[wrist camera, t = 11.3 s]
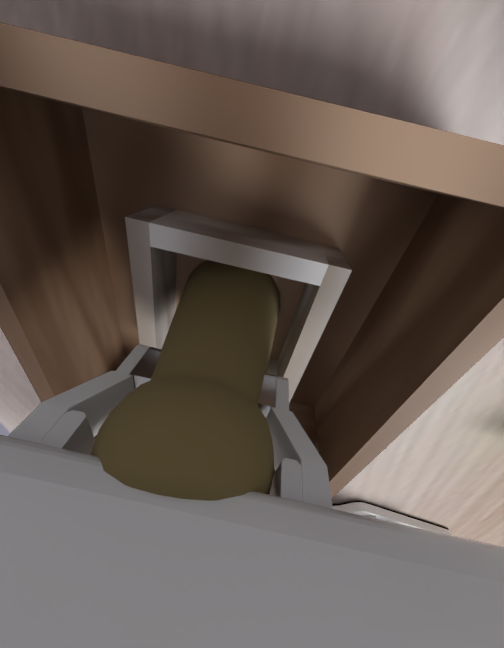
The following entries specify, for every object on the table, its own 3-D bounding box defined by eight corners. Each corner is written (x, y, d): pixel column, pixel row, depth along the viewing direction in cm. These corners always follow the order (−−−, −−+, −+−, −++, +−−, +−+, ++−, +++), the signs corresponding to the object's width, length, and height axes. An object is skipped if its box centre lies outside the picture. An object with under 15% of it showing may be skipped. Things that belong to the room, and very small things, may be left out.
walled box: (462, 171, 11) (665, 185, 5) (320, 406, 21) (332, 497, 15) (70, 76, 10) (-192, -25, 5) (122, 361, 21) (60, 437, 15)
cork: (176, 323, 16) (52, 536, 7) (195, 238, 13) (0, 438, 4) (259, 350, 17) (243, 570, 8) (298, 278, 13) (347, 519, 4)
